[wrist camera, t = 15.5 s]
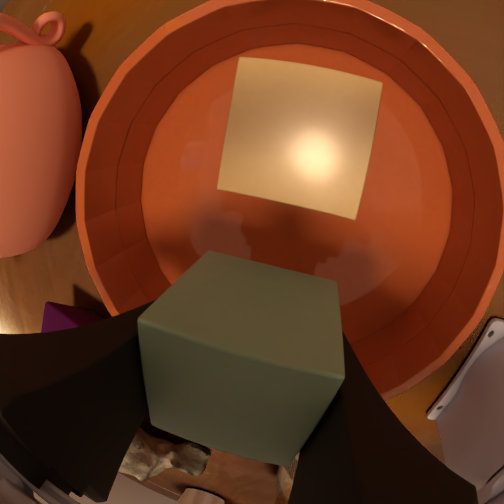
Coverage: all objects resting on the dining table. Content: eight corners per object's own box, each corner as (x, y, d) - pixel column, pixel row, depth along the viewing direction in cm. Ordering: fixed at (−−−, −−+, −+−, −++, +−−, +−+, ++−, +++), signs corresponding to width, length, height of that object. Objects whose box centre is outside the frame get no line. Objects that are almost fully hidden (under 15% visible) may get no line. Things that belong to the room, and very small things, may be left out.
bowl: (389, 373, 15) (400, 434, 11) (137, 308, 18) (93, 350, 13) (479, 97, 9) (536, 83, 4) (162, 35, 11) (106, 5, 7)
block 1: (343, 198, 12) (355, 220, 8) (248, 177, 13) (215, 189, 9) (361, 105, 10) (383, 82, 6) (264, 86, 11) (238, 56, 7)
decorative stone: (227, 452, 21) (179, 533, 13) (197, 455, 26) (158, 515, 18) (86, 349, 21) (20, 419, 13) (89, 375, 27) (41, 429, 19)
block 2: (303, 374, 10) (288, 467, 6) (199, 346, 11) (150, 425, 7) (337, 280, 9) (347, 377, 5) (208, 248, 9) (134, 317, 5)
